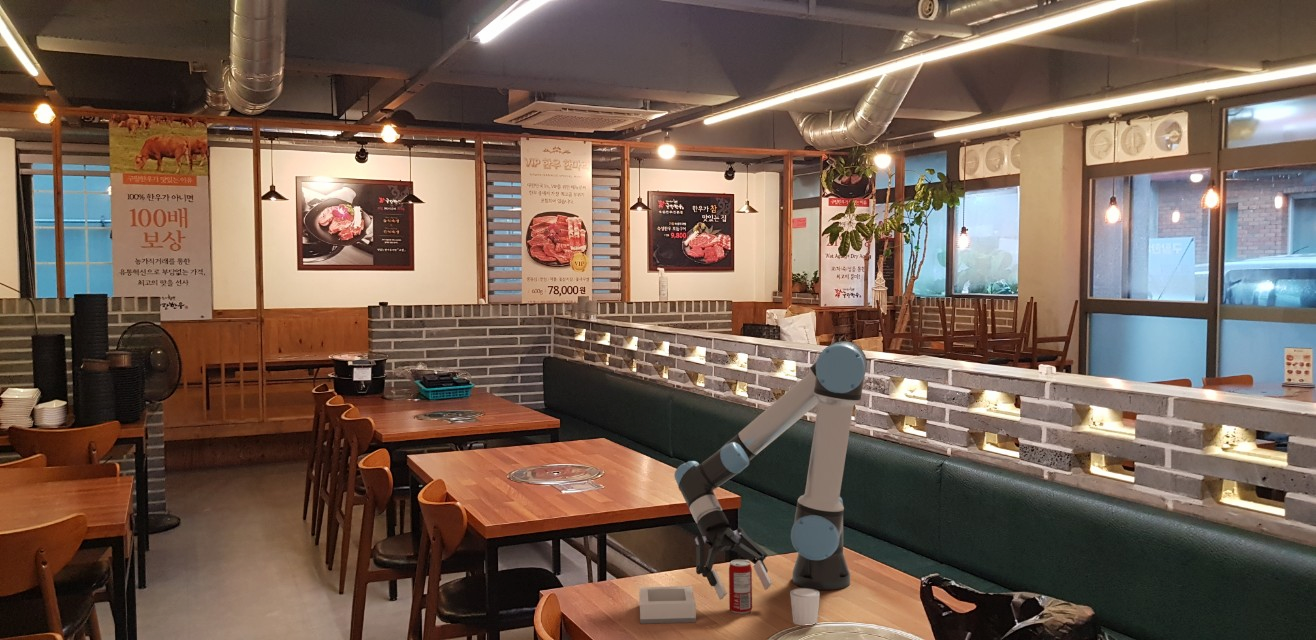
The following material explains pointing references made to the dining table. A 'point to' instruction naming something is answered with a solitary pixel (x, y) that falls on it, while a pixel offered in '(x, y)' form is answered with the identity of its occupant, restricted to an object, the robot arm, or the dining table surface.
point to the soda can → (740, 586)
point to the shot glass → (804, 605)
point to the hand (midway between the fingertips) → (746, 591)
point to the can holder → (667, 604)
